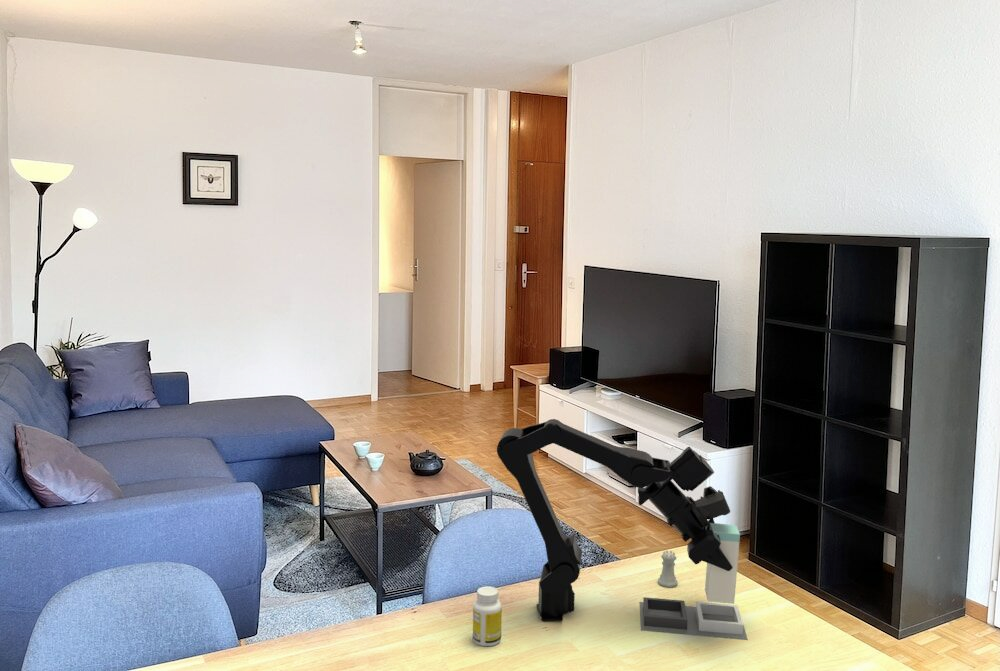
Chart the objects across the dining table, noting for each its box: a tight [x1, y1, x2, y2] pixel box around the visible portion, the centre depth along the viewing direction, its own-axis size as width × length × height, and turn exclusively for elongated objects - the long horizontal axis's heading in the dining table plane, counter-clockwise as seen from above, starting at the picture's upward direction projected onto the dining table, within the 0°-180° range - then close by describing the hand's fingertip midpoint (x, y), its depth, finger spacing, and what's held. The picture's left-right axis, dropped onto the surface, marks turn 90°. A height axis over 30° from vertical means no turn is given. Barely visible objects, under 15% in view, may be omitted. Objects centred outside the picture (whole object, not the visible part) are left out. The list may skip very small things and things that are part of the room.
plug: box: [704, 522, 741, 605], centre depth 160 cm, size 5×5×14 cm
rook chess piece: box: [657, 550, 679, 588], centre depth 179 cm, size 4×4×8 cm
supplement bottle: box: [472, 586, 503, 647], centre depth 155 cm, size 5×5×10 cm
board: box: [639, 596, 749, 641], centre depth 163 cm, size 20×12×3 cm, turn 82°
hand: (728, 563), depth 160 cm, fingers closed on plug, 5 cm apart
